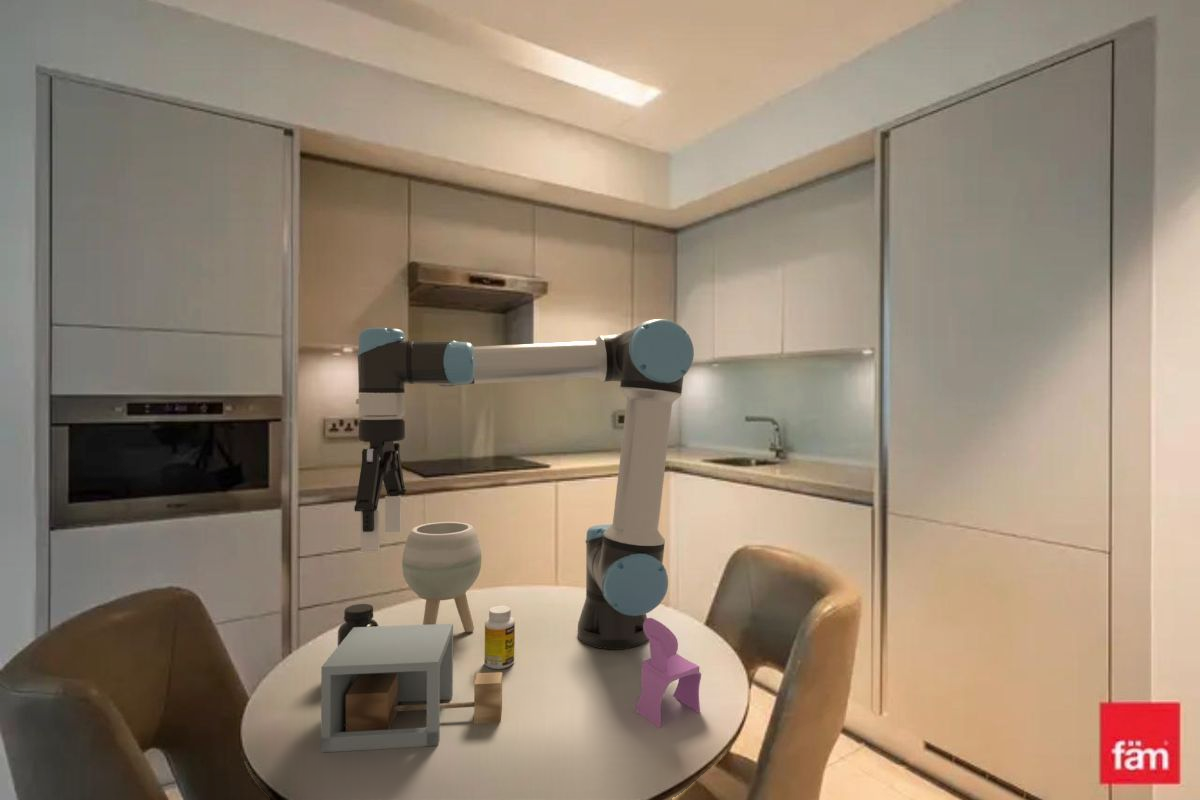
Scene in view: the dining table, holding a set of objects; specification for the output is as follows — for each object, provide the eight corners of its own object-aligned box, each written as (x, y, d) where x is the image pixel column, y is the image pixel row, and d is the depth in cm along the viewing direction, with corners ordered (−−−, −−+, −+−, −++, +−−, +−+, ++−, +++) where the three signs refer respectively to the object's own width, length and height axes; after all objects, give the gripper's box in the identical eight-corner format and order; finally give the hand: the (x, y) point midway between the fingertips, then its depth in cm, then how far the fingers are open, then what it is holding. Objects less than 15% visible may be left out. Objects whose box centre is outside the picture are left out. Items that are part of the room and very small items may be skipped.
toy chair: (707, 714, 90) (707, 619, 90) (663, 731, 86) (664, 631, 86) (672, 691, 97) (673, 603, 97) (631, 706, 93) (631, 614, 93)
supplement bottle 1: (363, 686, 99) (363, 616, 99) (328, 682, 100) (328, 613, 100) (386, 667, 106) (386, 602, 106) (352, 664, 107) (353, 600, 107)
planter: (496, 629, 124) (497, 525, 124) (439, 657, 110) (439, 540, 110) (444, 613, 132) (445, 517, 132) (385, 638, 119) (385, 530, 119)
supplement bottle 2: (507, 672, 104) (507, 615, 104) (479, 668, 106) (479, 613, 106) (519, 658, 110) (519, 605, 110) (492, 655, 111) (492, 602, 111)
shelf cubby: (452, 695, 96) (453, 623, 96) (438, 745, 82) (438, 661, 82) (353, 700, 94) (353, 627, 94) (321, 752, 80) (321, 666, 80)
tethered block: (502, 705, 93) (502, 668, 93) (500, 726, 87) (500, 687, 87) (358, 713, 90) (358, 675, 90) (345, 735, 84) (345, 694, 84)
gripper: (381, 416, 111) (381, 525, 112) (332, 421, 87) (332, 561, 87) (420, 415, 112) (421, 524, 112) (383, 420, 87) (383, 559, 87)
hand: (382, 540), depth 99 cm, fingers open, 13 cm apart
